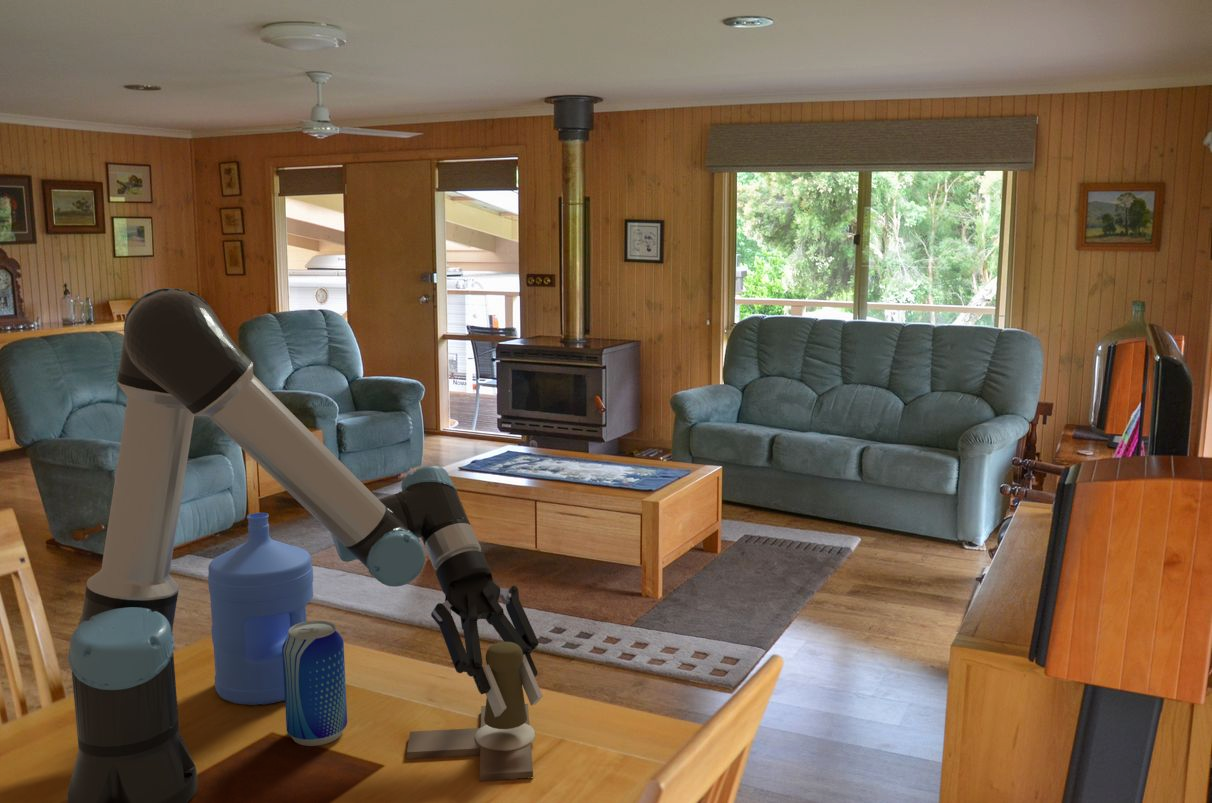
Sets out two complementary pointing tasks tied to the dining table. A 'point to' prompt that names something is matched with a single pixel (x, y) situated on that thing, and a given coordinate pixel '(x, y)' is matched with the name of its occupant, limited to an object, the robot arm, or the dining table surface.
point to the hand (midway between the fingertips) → (519, 706)
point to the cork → (506, 685)
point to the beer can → (314, 683)
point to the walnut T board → (480, 748)
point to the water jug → (256, 613)
